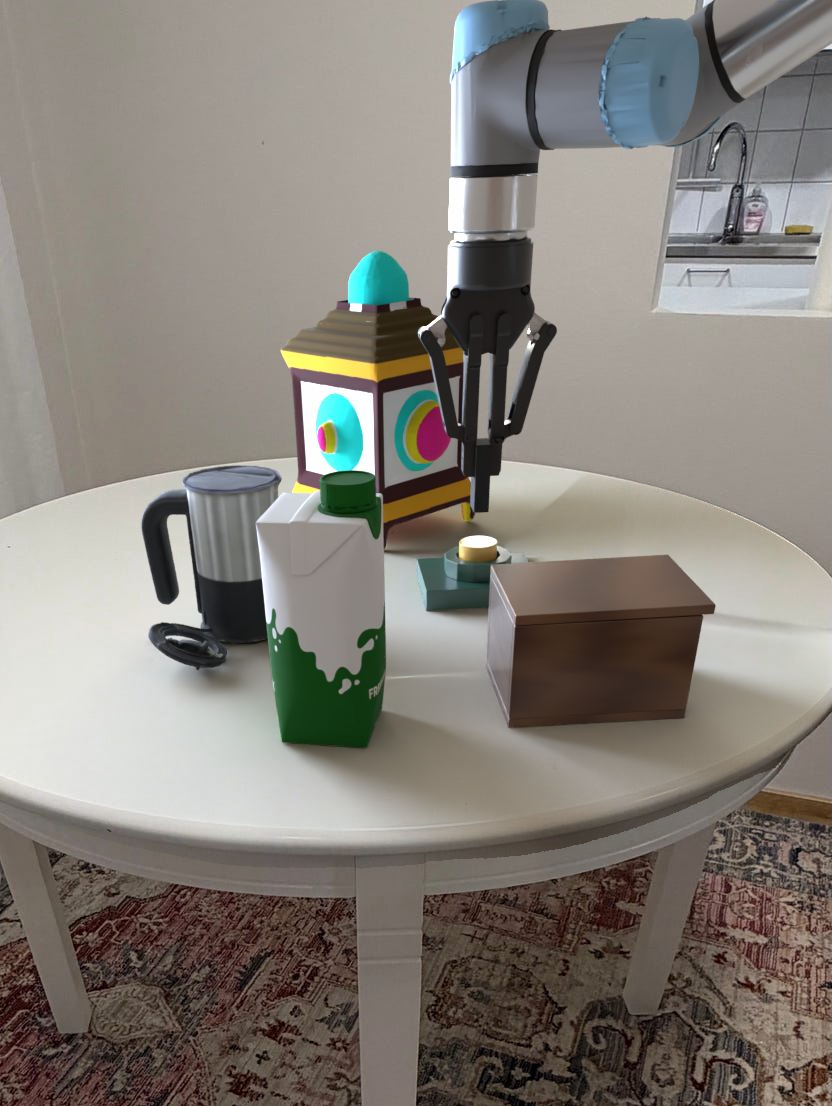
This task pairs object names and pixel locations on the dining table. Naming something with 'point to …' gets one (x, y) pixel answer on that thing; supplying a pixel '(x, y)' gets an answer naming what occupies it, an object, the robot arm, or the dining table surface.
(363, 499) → the milk carton
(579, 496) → the dining table surface
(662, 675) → the chest
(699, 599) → the chest lid
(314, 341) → the decorative lantern
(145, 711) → the dining table surface
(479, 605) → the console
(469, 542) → the button
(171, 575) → the milk frother
